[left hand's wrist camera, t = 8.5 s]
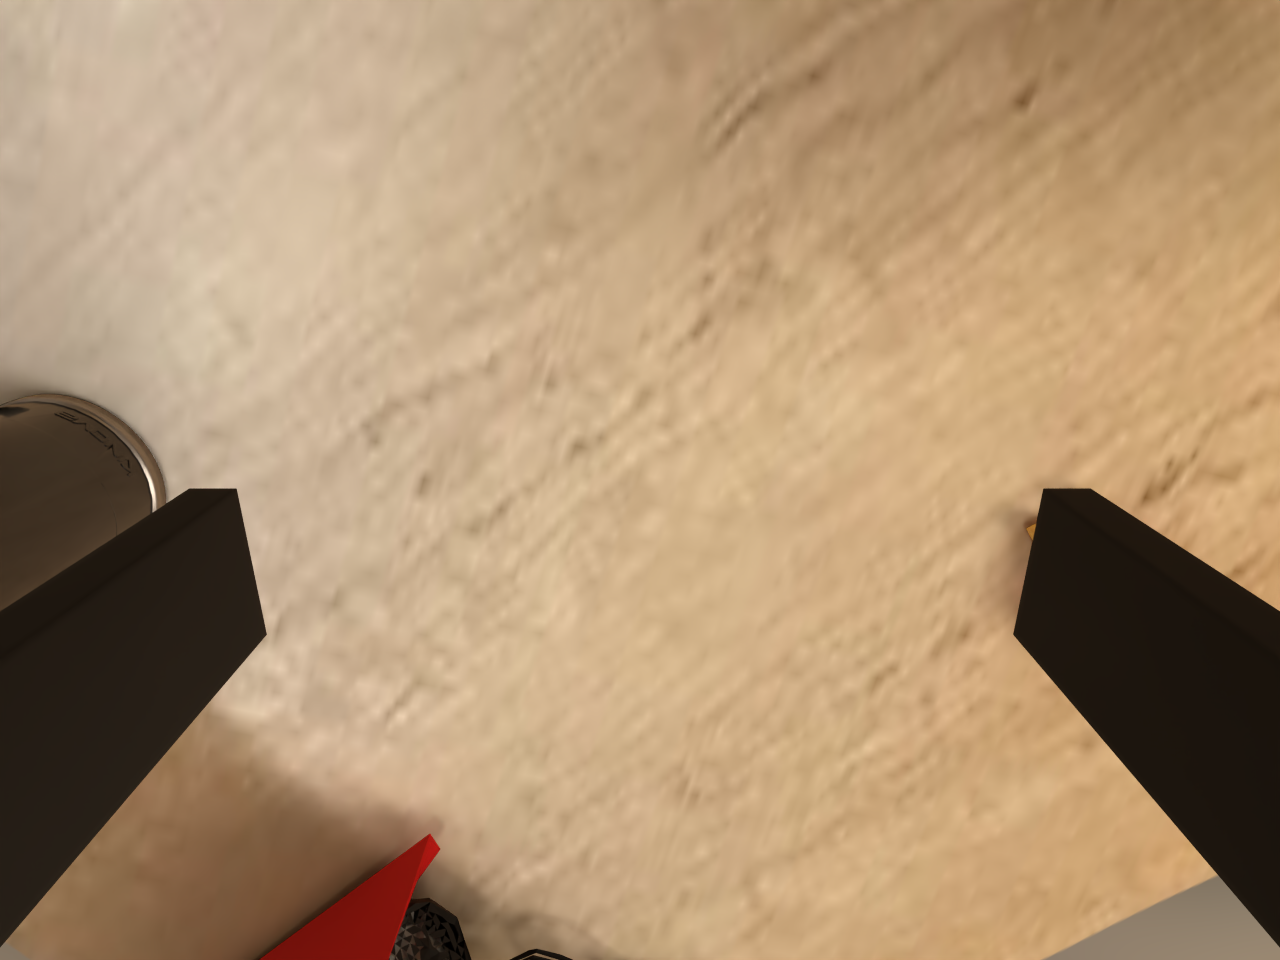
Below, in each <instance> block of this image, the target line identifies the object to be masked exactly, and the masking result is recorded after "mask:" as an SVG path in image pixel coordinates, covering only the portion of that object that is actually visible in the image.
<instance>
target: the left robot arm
mask: <svg viewBox="0 0 1280 960" xmlns="http://www.w3.org/2000/svg"><path fill="white" fill-rule="evenodd" d="M266 635H267V633H266V629H265V624H264V619H263V614H262V609H261V604H260V600H259V595H258V590H257V585H256V580H255V575H254V571H253V566H252V561H251V556H250V551H249V546H248V542H247V537H246V532H245V527H244V522H243V517H242V513H241V508H240V503H239V498H238V493H237V489H188V490H187V491H185V492H183V493H182V494H180V495H179V496H177V497H176V498H174V499H173V500H171V501H170V502H168V503H166V504H165V505H163V506H162V507H160V508H159V509H157V510H156V511H154V512H153V513H151V514H150V515H148V516H146V517H145V518H143V519H142V520H140V521H139V522H137V523H136V524H134V525H133V526H131V527H129V528H128V529H126V530H125V531H123V532H122V533H120V534H119V535H117V536H116V537H114V538H113V539H111V540H109V541H108V542H106V543H105V544H103V545H102V546H100V547H99V548H97V549H96V550H94V551H92V552H91V553H89V554H88V555H86V556H85V557H83V558H82V559H80V560H79V561H77V562H76V563H74V564H72V565H71V566H69V567H68V568H66V569H65V570H63V571H62V572H60V573H59V574H57V575H55V576H54V577H52V578H51V579H49V580H48V581H46V582H45V583H43V584H42V585H40V586H39V587H37V588H35V589H34V590H32V591H31V592H29V593H28V594H26V595H25V596H23V597H22V598H20V599H18V600H17V601H15V602H14V603H12V604H11V605H9V606H8V607H6V608H5V609H3V610H1V611H0V947H1V946H2V945H3V943H4V942H5V941H6V940H7V939H8V938H9V936H10V935H11V934H12V933H13V932H14V931H15V929H16V928H17V927H18V926H19V925H20V924H21V922H22V921H23V920H24V919H25V918H26V916H27V915H28V914H29V913H30V912H31V911H32V909H33V908H34V907H35V906H36V905H37V904H38V902H39V901H40V900H41V899H42V898H43V897H44V895H45V894H46V893H47V892H48V891H49V889H50V888H51V887H52V886H53V885H54V884H55V882H56V881H57V880H58V879H59V878H60V877H61V875H62V874H63V873H64V872H65V871H66V870H67V868H68V867H69V866H70V865H71V864H72V862H73V861H74V860H75V859H76V858H77V857H78V855H79V854H80V853H81V852H82V851H83V850H84V848H85V847H86V846H87V845H88V844H89V843H90V841H91V840H92V839H93V838H94V837H95V835H96V834H97V833H98V832H99V831H100V830H101V828H102V827H103V826H104V825H105V824H106V823H107V821H108V820H109V819H110V818H111V817H112V816H113V814H114V813H115V812H116V811H117V810H118V809H119V807H120V806H121V805H122V804H123V803H124V801H125V800H126V799H127V798H128V797H129V796H130V794H131V793H132V792H133V791H134V790H135V789H136V787H137V786H138V785H139V784H140V783H141V782H142V780H143V779H144V778H145V777H146V776H147V774H148V773H149V772H150V771H151V770H152V769H153V767H154V766H155V765H156V764H157V763H158V762H159V760H160V759H161V758H162V757H163V756H164V755H165V753H166V752H167V751H168V750H169V749H170V747H171V746H172V745H173V744H174V743H175V742H176V740H177V739H178V738H179V737H180V736H181V735H182V733H183V732H184V731H185V730H186V729H187V728H188V726H189V725H190V724H191V723H192V722H193V720H194V719H195V718H196V717H197V716H198V715H199V713H200V712H201V711H202V710H203V709H204V708H205V706H206V705H207V704H208V703H209V702H210V701H211V699H212V698H213V697H214V696H215V695H216V693H217V692H218V691H219V690H220V689H221V688H222V686H223V685H224V684H225V683H226V682H227V681H228V679H229V678H230V677H231V676H232V675H233V674H234V672H235V671H236V670H237V669H238V668H239V666H240V665H241V664H242V663H243V662H244V661H245V659H246V658H247V657H248V656H249V655H250V654H251V652H252V651H253V650H254V649H255V648H256V647H257V645H258V644H259V643H260V642H261V641H262V639H263V638H264V637H265V636H266ZM1013 635H1014V636H1015V637H1016V638H1017V639H1018V641H1019V642H1020V643H1021V644H1022V645H1023V647H1024V648H1025V649H1026V650H1027V651H1028V652H1029V654H1030V655H1031V656H1032V657H1033V658H1034V659H1035V661H1036V662H1037V663H1038V664H1039V665H1040V666H1041V668H1042V669H1043V670H1044V671H1045V672H1046V674H1047V675H1048V676H1049V677H1050V678H1051V679H1052V681H1053V682H1054V683H1055V684H1056V685H1057V686H1058V688H1059V689H1060V690H1061V691H1062V692H1063V693H1064V695H1065V696H1066V697H1067V698H1068V699H1069V701H1070V702H1071V703H1072V704H1073V705H1074V706H1075V708H1076V709H1077V710H1078V711H1079V712H1080V713H1081V715H1082V716H1083V717H1084V718H1085V719H1086V720H1087V722H1088V723H1089V724H1090V725H1091V726H1092V728H1093V729H1094V730H1095V731H1096V732H1097V733H1098V735H1099V736H1100V737H1101V738H1102V739H1103V740H1104V742H1105V743H1106V744H1107V745H1108V746H1109V747H1110V749H1111V750H1112V751H1113V752H1114V753H1115V755H1116V756H1117V757H1118V758H1119V759H1120V760H1121V762H1122V763H1123V764H1124V765H1125V766H1126V767H1127V769H1128V770H1129V771H1130V772H1131V773H1132V774H1133V776H1134V777H1135V778H1136V779H1137V780H1138V782H1139V783H1140V784H1141V785H1142V786H1143V787H1144V789H1145V790H1146V791H1147V792H1148V793H1149V794H1150V796H1151V797H1152V798H1153V799H1154V800H1155V801H1156V803H1157V804H1158V805H1159V806H1160V807H1161V809H1162V810H1163V811H1164V812H1165V813H1166V814H1167V816H1168V817H1169V818H1170V819H1171V820H1172V821H1173V823H1174V824H1175V825H1176V826H1177V827H1178V828H1179V830H1180V831H1181V832H1182V833H1183V834H1184V835H1185V837H1186V838H1187V839H1188V840H1189V841H1190V843H1191V844H1192V845H1193V846H1194V847H1195V848H1196V850H1197V851H1198V852H1199V853H1200V854H1201V855H1202V857H1203V858H1204V859H1205V860H1206V861H1207V862H1208V864H1209V865H1210V866H1211V867H1212V868H1213V870H1214V871H1215V872H1216V873H1217V874H1218V875H1219V877H1220V878H1221V879H1222V880H1223V881H1224V882H1225V884H1226V885H1227V886H1228V887H1229V888H1230V889H1231V891H1232V892H1233V893H1234V894H1235V895H1236V896H1237V898H1238V899H1239V900H1240V901H1241V902H1242V904H1243V905H1244V906H1245V907H1246V908H1247V909H1248V911H1249V912H1250V913H1251V914H1252V915H1253V916H1254V918H1255V919H1256V920H1257V921H1258V922H1259V924H1260V925H1261V926H1262V927H1263V928H1264V929H1265V931H1266V932H1267V933H1268V934H1269V935H1270V936H1271V938H1272V939H1273V940H1274V941H1275V942H1276V943H1277V945H1278V946H1279V947H1280V611H1279V610H1277V609H1275V608H1274V607H1272V606H1271V605H1269V604H1268V603H1266V602H1265V601H1263V600H1262V599H1260V598H1258V597H1257V596H1255V595H1254V594H1252V593H1251V592H1249V591H1248V590H1246V589H1245V588H1243V587H1241V586H1240V585H1238V584H1237V583H1235V582H1234V581H1232V580H1231V579H1229V578H1228V577H1226V576H1225V575H1223V574H1221V573H1220V572H1218V571H1217V570H1215V569H1214V568H1212V567H1211V566H1209V565H1208V564H1206V563H1204V562H1203V561H1201V560H1200V559H1198V558H1197V557H1195V556H1194V555H1192V554H1191V553H1189V552H1188V551H1186V550H1184V549H1183V548H1181V547H1180V546H1178V545H1177V544H1175V543H1174V542H1172V541H1171V540H1169V539H1167V538H1166V537H1164V536H1163V535H1161V534H1160V533H1158V532H1157V531H1155V530H1154V529H1152V528H1151V527H1149V526H1147V525H1146V524H1144V523H1143V522H1141V521H1140V520H1138V519H1137V518H1135V517H1134V516H1132V515H1130V514H1129V513H1127V512H1126V511H1124V510H1123V509H1121V508H1120V507H1118V506H1117V505H1115V504H1114V503H1112V502H1110V501H1109V500H1107V499H1106V498H1104V497H1103V496H1101V495H1100V494H1098V493H1097V492H1095V491H1093V490H1092V489H1043V493H1042V498H1041V503H1040V508H1039V513H1038V517H1037V522H1036V527H1035V532H1034V537H1033V542H1032V546H1031V551H1030V556H1029V561H1028V566H1027V571H1026V575H1025V580H1024V585H1023V590H1022V595H1021V600H1020V604H1019V609H1018V614H1017V619H1016V624H1015V629H1014V633H1013Z"/></svg>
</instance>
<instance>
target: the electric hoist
mask: <svg viewBox="0 0 1280 960" xmlns="http://www.w3.org/2000/svg"><path fill="white" fill-rule="evenodd" d="M439 850H440V848H439V846H438V845H437V843H436V842H435V840H434V839H433V837H432V836H431V834H429V835H427V836H426V837H425V838H423V839H422V840H421V841H419V842H418V843H417V844H415V845H414V846H412V847H411V848H410V849H408V850H407V851H406V852H404V853H403V854H402V855H400V856H399V857H398V858H396V859H395V860H394V861H392V862H391V863H389V864H388V865H387V866H385V867H384V868H383V869H381V870H380V871H379V872H377V873H376V874H375V875H373V876H372V877H371V878H369V879H368V880H366V881H365V882H364V883H362V884H361V885H360V886H358V887H357V888H356V889H354V890H353V891H352V892H350V893H349V894H347V895H346V896H345V897H343V898H342V899H341V900H339V901H338V902H337V903H335V904H334V905H333V906H331V907H330V908H329V909H327V910H326V911H324V912H323V913H322V914H320V915H319V916H318V917H316V918H315V919H314V920H312V921H311V922H310V923H308V924H307V925H305V926H304V927H303V928H301V929H300V930H299V931H297V932H296V933H295V934H293V935H292V936H291V937H289V938H288V939H287V940H285V941H284V942H282V943H281V944H280V945H278V946H277V947H276V948H274V949H273V950H272V951H270V952H269V953H268V954H266V955H265V956H263V957H262V958H261V959H259V960H471V957H470V955H469V952H468V949H467V946H466V943H465V940H464V937H463V934H462V931H461V928H460V925H459V922H458V919H457V917H456V916H454V915H453V914H452V913H450V912H449V911H447V910H446V909H444V908H443V907H442V906H440V905H439V904H437V903H436V902H434V901H433V900H431V899H430V898H425V899H411V896H412V893H413V891H414V888H415V885H416V882H417V881H418V879H419V878H420V876H421V875H422V874H423V872H424V871H425V870H426V868H427V867H428V865H429V864H430V863H431V861H432V860H433V859H434V857H435V856H436V854H437V853H438V852H439ZM534 953H539V954H542V955H545V956H548V957H552V958H555V959H558V960H572V959H570V958H567V957H565V956H563V955H560V954H556V953H552V952H548V951H544V950H539V949H533V950H529V951H527V952H524V953H522V954H520V955H518V956H516V957H514V958H512V959H510V960H520V959H522V958H525V957H527V956H529V955H532V954H534ZM523 960H551V959H547V958H543V957H539V956H535V955H532V956H530V957H528V958H525V959H523Z"/></svg>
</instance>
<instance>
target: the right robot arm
mask: <svg viewBox="0 0 1280 960" xmlns="http://www.w3.org/2000/svg"><path fill="white" fill-rule="evenodd" d="M165 504H166V494H165V486H164V482H163V478H162V475H161V472H160V469H159V467H158V465H157V463H156V461H155V459H154V457H153V455H152V454H151V452H150V451H149V449H148V448H147V446H146V445H145V444H144V442H143V441H142V440H141V439H140V438H139V437H138V436H137V434H136V433H135V432H134V431H133V430H132V429H130V428H129V427H128V426H127V425H126V424H125V423H123V422H122V421H121V420H120V419H118V418H117V417H115V416H114V415H112V414H111V413H109V412H107V411H106V410H104V409H102V408H100V407H98V406H96V405H94V404H92V403H89V402H86V401H84V400H80V399H77V398H74V397H69V396H64V395H55V394H41V395H32V396H27V397H23V398H20V399H17V400H14V401H11V402H8V403H4V404H2V405H0V611H1V610H3V609H5V608H6V607H8V606H9V605H11V604H12V603H14V602H15V601H17V600H18V599H20V598H22V597H23V596H25V595H26V594H28V593H29V592H31V591H32V590H34V589H35V588H37V587H39V586H40V585H42V584H43V583H45V582H46V581H48V580H49V579H51V578H52V577H54V576H55V575H57V574H59V573H60V572H62V571H63V570H65V569H66V568H68V567H69V566H71V565H72V564H74V563H76V562H77V561H79V560H80V559H82V558H83V557H85V556H86V555H88V554H89V553H91V552H92V551H94V550H96V549H97V548H99V547H100V546H102V545H103V544H105V543H106V542H108V541H109V540H111V539H113V538H114V537H116V536H117V535H119V534H120V533H122V532H123V531H125V530H126V529H128V528H129V527H131V526H133V525H134V524H136V523H137V522H139V521H140V520H142V519H143V518H145V517H146V516H148V515H150V514H151V513H153V512H154V511H156V510H157V509H159V508H160V507H162V506H163V505H165Z"/></svg>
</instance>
